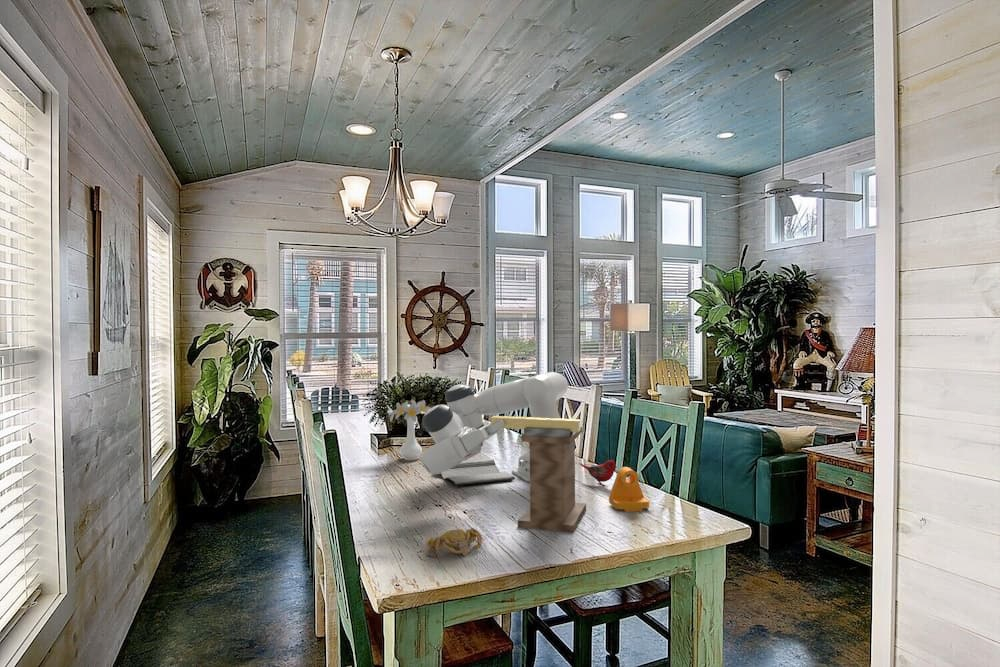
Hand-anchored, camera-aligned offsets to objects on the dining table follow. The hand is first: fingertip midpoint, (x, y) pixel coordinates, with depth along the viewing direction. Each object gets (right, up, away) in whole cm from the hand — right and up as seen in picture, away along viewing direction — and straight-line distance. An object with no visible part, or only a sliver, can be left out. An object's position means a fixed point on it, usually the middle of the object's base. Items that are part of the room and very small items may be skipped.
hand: (506, 420), depth 180 cm
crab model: (-14, -31, -22) cm, 40 cm away
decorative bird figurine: (+33, -28, +38) cm, 58 cm away
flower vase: (-40, -28, +80) cm, 94 cm away
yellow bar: (+8, -2, -3) cm, 9 cm away
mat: (-11, -29, +50) cm, 59 cm away
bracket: (+39, -29, +12) cm, 50 cm away
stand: (+14, -29, +2) cm, 33 cm away
